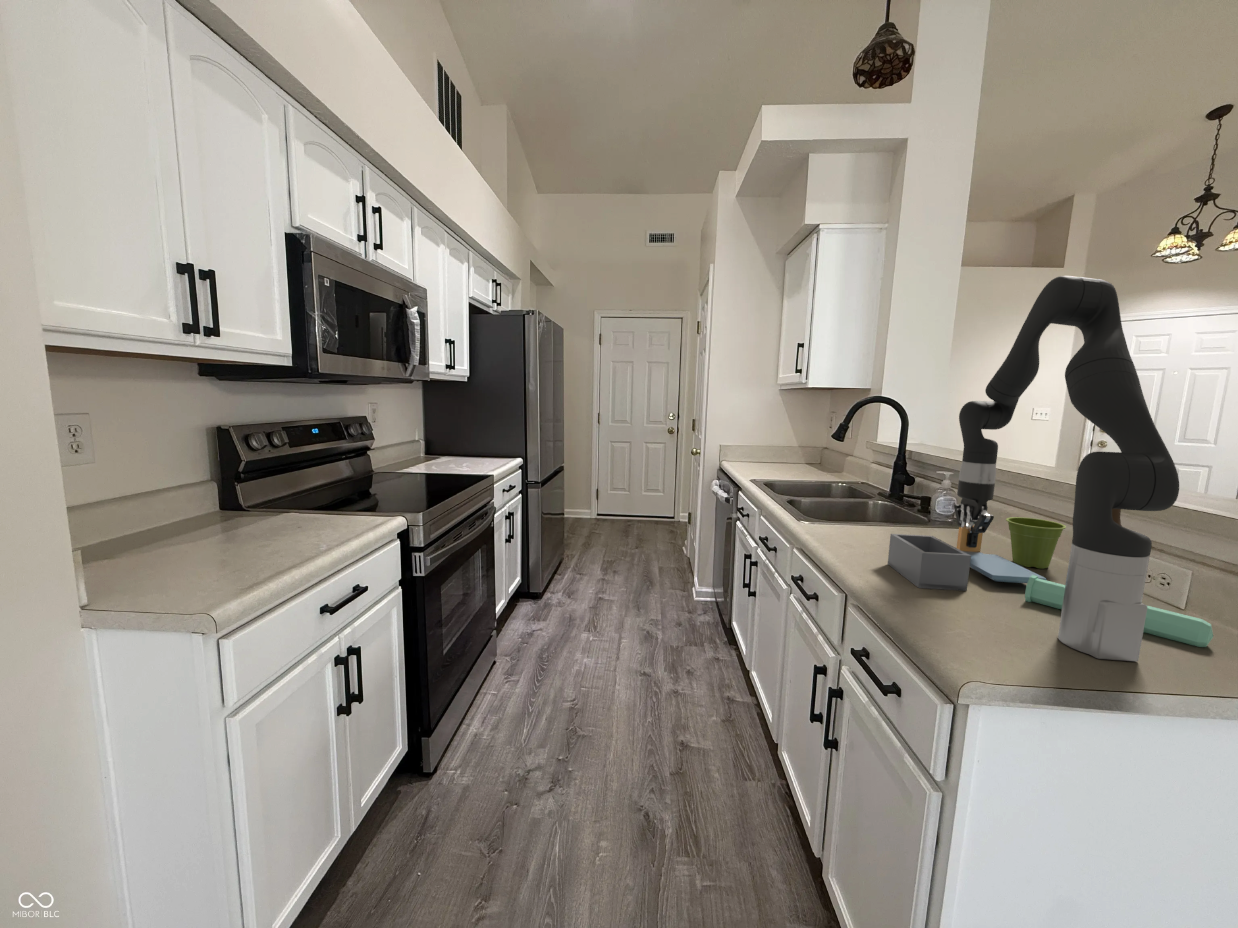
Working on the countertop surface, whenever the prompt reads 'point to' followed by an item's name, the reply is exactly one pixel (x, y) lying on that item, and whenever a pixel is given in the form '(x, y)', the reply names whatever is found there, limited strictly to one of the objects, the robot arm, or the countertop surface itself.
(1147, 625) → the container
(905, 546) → the storage box
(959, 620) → the countertop surface
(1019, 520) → the plant pot
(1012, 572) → the lid
